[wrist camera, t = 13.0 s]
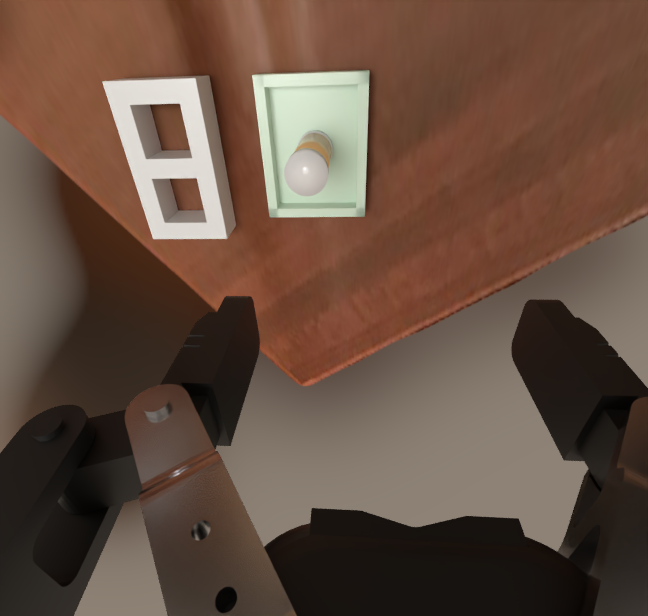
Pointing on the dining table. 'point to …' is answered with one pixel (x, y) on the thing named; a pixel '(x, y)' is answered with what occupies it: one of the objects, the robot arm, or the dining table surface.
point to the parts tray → (314, 114)
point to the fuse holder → (174, 154)
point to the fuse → (309, 164)
